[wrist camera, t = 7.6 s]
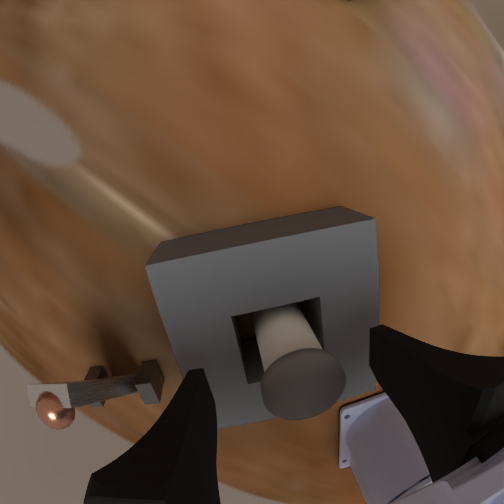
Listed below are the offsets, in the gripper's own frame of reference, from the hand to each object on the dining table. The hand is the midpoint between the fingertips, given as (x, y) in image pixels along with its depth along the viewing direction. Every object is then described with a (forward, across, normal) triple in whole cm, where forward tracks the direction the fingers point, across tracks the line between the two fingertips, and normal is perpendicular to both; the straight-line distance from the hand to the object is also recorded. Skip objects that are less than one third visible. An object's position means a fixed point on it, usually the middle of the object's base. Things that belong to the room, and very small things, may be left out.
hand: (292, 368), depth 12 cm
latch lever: (+2, +10, 0) cm, 10 cm away
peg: (+6, 0, 0) cm, 6 cm away
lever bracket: (+6, +10, +3) cm, 12 cm away
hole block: (+6, 0, 0) cm, 6 cm away
